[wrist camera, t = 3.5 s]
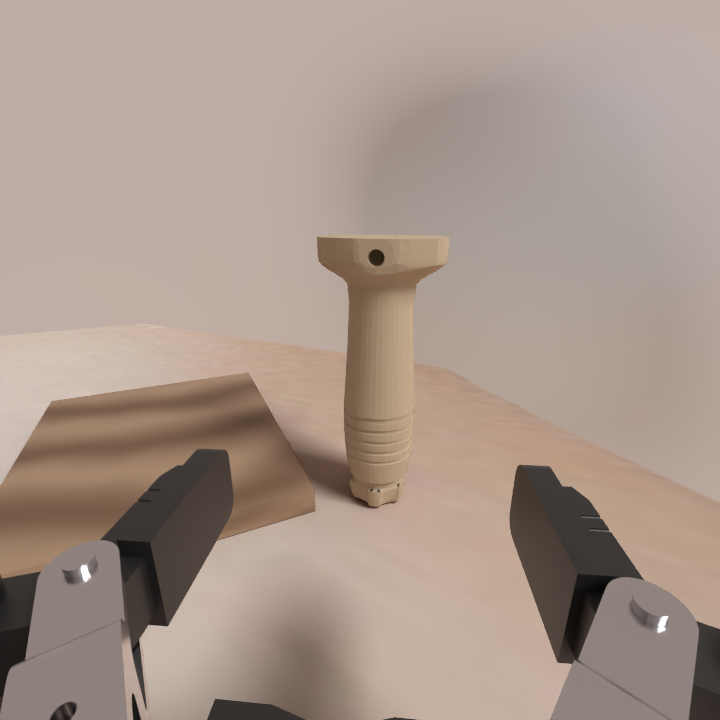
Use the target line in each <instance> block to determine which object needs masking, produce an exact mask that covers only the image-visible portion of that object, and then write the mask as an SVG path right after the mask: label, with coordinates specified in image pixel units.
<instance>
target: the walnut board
mask: <svg viewBox="0 0 720 720" xmlns="http://www.w3.org/2000/svg"><path fill="white" fill-rule="evenodd" d="M199 448H202V449H222V450H226V451H227V452H228V455H229V461H230V470H231V478H232V486H233V495H234V501H233V508H232V512H231V515H230V518H229V520H228V522H227V523H226V525H225V527H224V529H223V530H222V532H221V534H220V536H219V537H218V539H217V540H219V539H222V538H226V537H229V536H233V535H236V534H239V533H243V532H246V531H249V530H253V529H256V528H259V527H263V526H266V525H269V524H273V523H276V522H279V521H283V520H286V519H289V518H293V517H296V516H299V515H303V514H306V513H309V512H313V511H315V491H314V487H313V485H312V484H311V482H310V480H309V478H308V477H307V475H306V473H305V471H304V470H303V468H302V466H301V464H300V463H299V461H298V459H297V457H296V455H295V454H294V452H293V450H292V448H291V447H290V445H289V443H288V441H287V440H286V438H285V436H284V434H283V433H282V431H281V429H280V427H279V426H278V424H277V422H276V420H275V419H274V417H273V415H272V413H271V412H270V410H269V408H268V406H267V404H266V403H265V401H264V399H263V397H262V396H261V394H260V392H259V390H258V389H257V387H256V385H255V383H254V382H253V380H252V378H251V376H250V375H249V373H243V374H236V375H229V376H222V377H215V378H208V379H201V380H194V381H188V382H181V383H174V384H167V385H160V386H153V387H146V388H139V389H133V390H126V391H119V392H112V393H105V394H98V395H91V396H84V397H78V398H71V399H64V400H57V401H51V403H50V405H49V406H48V408H47V410H46V411H45V413H44V415H43V416H42V418H41V420H40V421H39V423H38V425H37V426H36V428H35V430H34V431H33V433H32V435H31V436H30V438H29V440H28V441H27V443H26V445H25V446H24V448H23V450H22V451H21V453H20V455H19V456H18V458H17V460H16V461H15V463H14V465H13V466H12V468H11V470H10V471H9V473H8V475H7V476H6V478H5V480H4V481H3V483H2V485H1V486H0V575H1V577H2V578H8V577H13V576H19V575H24V574H30V573H35V572H41V571H42V570H43V569H44V567H45V566H46V565H47V564H48V563H49V562H50V561H51V560H53V559H54V558H55V557H56V556H58V555H59V554H61V553H62V552H64V551H66V550H68V549H70V548H72V547H74V546H77V545H79V544H82V543H86V542H90V541H97V540H100V539H101V538H102V537H103V536H104V535H105V534H106V533H107V532H108V531H109V530H110V529H111V528H112V527H113V526H114V524H115V523H116V522H117V521H118V520H119V519H120V518H121V517H122V516H123V515H124V514H125V513H126V512H127V511H128V510H129V508H130V507H131V506H132V505H133V504H134V503H135V502H138V499H139V498H140V497H141V496H142V495H143V494H144V492H145V491H148V488H149V487H150V486H151V485H152V484H153V483H154V482H155V481H156V480H157V479H158V478H159V477H160V476H161V475H162V474H164V473H166V472H167V471H169V470H170V469H172V468H174V467H175V466H177V465H183V464H184V463H185V462H186V461H187V460H188V459H189V458H190V456H191V455H192V454H193V453H194V452H195V451H196V450H197V449H199Z"/></svg>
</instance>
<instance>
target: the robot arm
mask: <svg viewBox="0 0 720 720" xmlns="http://www.w3.org/2000/svg"><path fill="white" fill-rule="evenodd" d="M233 501H234V495H233V486H232V478H231V470H230V461H229V455H228V452H227V451H226V450H222V449H202V448H199V449H197V450H196V451H195V452H194V453H193V454H192V455H191V456H190V458H189V459H188V460H187V461H186V462H185V463H184V464H183V465H177V466H175V467H174V468H172V469H170V470H169V471H167V472H166V473H164V474H162V475H161V476H160V477H159V478H158V479H157V480H156V481H155V482H154V483H153V484H152V485H151V486H150V487H149V488H148V491H145V492H144V494H143V495H142V496H141V497H140V498H139V499H138V502H135V503H134V504H133V505H132V506H131V507H130V508H129V510H128V511H127V512H126V513H125V514H124V515H123V516H122V517H121V518H120V519H119V520H118V521H117V522H116V523H115V524H114V526H113V527H112V528H111V529H110V530H109V531H108V532H107V533H106V534H105V535H104V536H103V537H102V538H101V539H100V540H97V541H90V542H86V543H82V544H79V545H77V546H74V547H72V548H70V549H68V550H66V551H64V552H62V553H61V554H59V555H58V556H56V557H55V558H54V559H53V560H51V561H50V562H49V563H48V564H47V565H46V566H45V567H44V569H43V570H42V571H41V572H35V573H30V574H24V575H19V576H13V577H8V578H2V577H1V575H0V720H151V717H150V709H149V700H148V692H147V683H146V675H145V666H144V658H143V649H142V644H141V639H140V637H141V636H142V634H143V632H144V631H145V629H146V628H147V626H148V625H159V626H168V625H169V623H170V622H171V620H172V618H173V616H174V615H175V613H176V611H177V609H178V608H179V606H180V604H181V602H182V601H183V599H184V597H185V595H186V594H187V592H188V590H189V588H190V587H191V585H192V583H193V581H194V579H195V578H196V576H197V574H198V572H199V571H200V569H201V567H202V565H203V564H204V562H205V560H206V558H207V557H208V555H209V553H210V551H211V550H212V548H213V546H214V544H215V543H216V541H217V539H218V537H219V536H220V534H221V532H222V530H223V529H224V527H225V525H226V523H227V522H228V520H229V518H230V515H231V512H232V508H233ZM510 529H511V535H512V538H513V541H514V544H515V547H516V549H517V552H518V555H519V558H520V560H521V563H522V566H523V569H524V571H525V574H526V577H527V580H528V582H529V585H530V588H531V591H532V593H533V596H534V599H535V602H536V604H537V607H538V610H539V613H540V616H541V618H542V621H543V624H544V627H545V629H546V632H547V635H548V638H549V640H550V643H551V646H552V649H553V651H554V654H555V657H556V660H557V662H558V663H569V664H572V666H571V669H570V671H569V674H568V676H567V679H566V681H565V684H564V686H563V689H562V691H561V694H560V696H559V699H558V701H557V704H556V706H555V709H554V711H553V714H552V716H551V719H550V720H720V629H718V628H715V627H712V626H708V625H706V624H703V623H700V622H698V621H696V620H695V618H694V617H693V615H692V614H691V612H690V611H689V610H688V609H687V608H686V606H685V605H684V604H683V603H682V602H680V601H679V600H678V599H677V598H676V597H674V596H673V595H672V594H670V593H669V592H667V591H666V590H664V589H662V588H660V587H659V586H657V585H654V584H652V583H650V582H647V581H644V579H643V578H642V577H641V575H640V574H639V572H638V571H637V569H636V568H635V566H634V565H633V563H632V562H631V561H630V559H629V558H628V556H627V555H626V553H625V552H624V550H623V549H622V547H621V546H620V545H619V543H618V542H617V540H616V539H615V537H614V536H613V534H612V533H611V532H609V529H608V527H607V526H606V524H605V523H604V521H603V520H602V519H600V515H599V514H598V513H597V511H596V510H595V508H594V507H593V505H592V504H591V502H590V501H589V500H588V499H587V498H585V497H584V496H583V495H581V494H580V493H579V492H578V491H576V490H575V489H574V488H572V487H563V486H562V485H561V484H560V482H559V480H558V479H557V477H556V475H555V474H554V472H553V471H552V469H551V468H550V467H549V466H532V465H519V466H518V467H517V470H516V474H515V481H514V488H513V495H512V502H511V509H510ZM207 720H305V719H303V718H300V717H298V716H296V715H294V714H291V713H289V712H287V711H285V710H283V709H280V708H278V707H276V706H274V705H269V704H259V703H249V702H240V701H230V700H220V699H215V701H214V703H213V706H212V709H211V711H210V714H209V716H208V719H207ZM385 720H415V719H405V718H395V717H394V718H389V719H385Z"/></svg>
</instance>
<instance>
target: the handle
mask: <svg viewBox="0 0 720 720" xmlns="http://www.w3.org/2000/svg"><path fill="white" fill-rule="evenodd" d="M317 245H318V246H317V247H318V259H319V262H320V263H321V264H322V265H323V266H324V267H326V268H327V269H329V270H331V271H332V272H334V273H335V274H337V275H338V276H340V277H342V278H343V279H344V280H345V281H346V282H347V284H348V294H349V322H348V348H347V364H346V380H345V397H344V427H345V428H344V431H345V443H346V452H347V459H348V463H349V468H350V472H351V473H352V477H349V478H350V486H351V491H352V494H353V495H354V496H355V497H356V498H360V499H362V500H364V501H366V502H367V503H368V505H369V506H372V507H380V505H382V504H385V503H389V502H397V501H398V500H399V499H400V498H401V496H402V493H403V487H404V483H403V482H404V477H405V473H406V470H407V466H408V462H409V457H410V452H411V445H412V438H413V428H414V407H415V399H414V351H413V350H414V341H413V340H414V338H413V337H414V298H415V291H416V284H417V283H418V282H419V281H420V280H421V279H423V278H425V277H426V276H428V275H429V274H431V273H433V272H435V271H437V270H439V269H440V268H441V267H443V266H444V265H445V264H446V262H447V259H448V251H449V237H445V236H422V235H325V236H317Z"/></svg>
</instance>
